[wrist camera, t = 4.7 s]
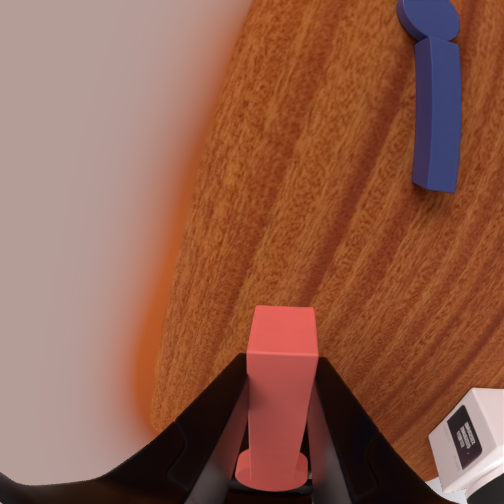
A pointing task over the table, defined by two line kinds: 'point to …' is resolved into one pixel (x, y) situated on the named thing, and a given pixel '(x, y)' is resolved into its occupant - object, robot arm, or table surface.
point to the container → (472, 447)
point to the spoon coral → (278, 396)
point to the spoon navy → (435, 91)
